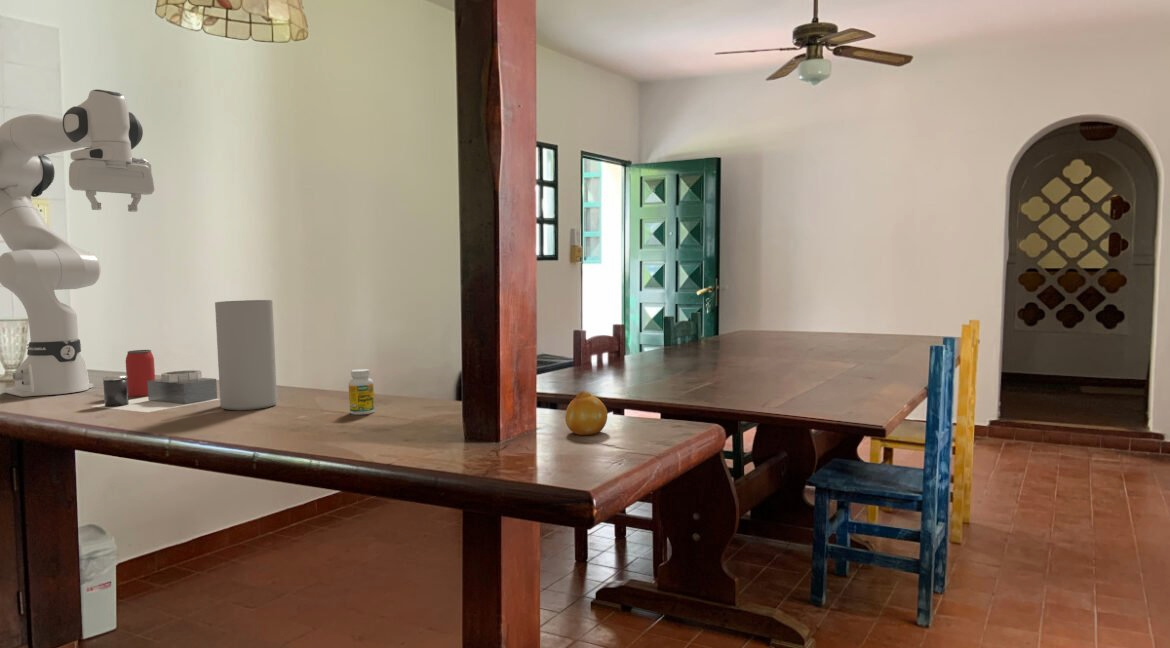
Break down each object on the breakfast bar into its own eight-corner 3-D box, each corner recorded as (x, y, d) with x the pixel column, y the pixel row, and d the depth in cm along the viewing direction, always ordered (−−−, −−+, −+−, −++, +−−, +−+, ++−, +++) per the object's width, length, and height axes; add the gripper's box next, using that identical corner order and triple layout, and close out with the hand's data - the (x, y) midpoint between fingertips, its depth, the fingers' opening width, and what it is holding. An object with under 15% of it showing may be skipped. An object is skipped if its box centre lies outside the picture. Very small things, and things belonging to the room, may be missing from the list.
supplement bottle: (367, 409, 190) (365, 367, 189) (379, 412, 186) (377, 369, 185) (345, 413, 186) (343, 370, 185) (357, 415, 182) (355, 372, 181)
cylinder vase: (223, 404, 202) (218, 301, 200) (278, 400, 205) (273, 299, 204) (217, 412, 190) (211, 303, 188) (275, 408, 194) (270, 301, 192)
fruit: (556, 417, 162) (565, 385, 158) (594, 417, 165) (604, 386, 161) (566, 446, 156) (576, 413, 151) (607, 446, 158) (617, 413, 154)
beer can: (121, 398, 215) (118, 352, 214) (142, 394, 221) (139, 349, 221) (142, 398, 213) (139, 352, 212) (162, 394, 220) (159, 349, 219)
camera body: (148, 400, 207) (146, 373, 207) (181, 395, 215) (179, 369, 215) (184, 404, 200) (183, 376, 200) (217, 398, 208) (215, 371, 208)
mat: (90, 407, 201) (90, 406, 200) (166, 395, 218) (166, 394, 218) (147, 414, 190) (147, 412, 190) (222, 400, 207) (222, 399, 207)
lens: (99, 406, 200) (97, 377, 200) (120, 402, 205) (118, 374, 204) (112, 407, 198) (111, 378, 197) (133, 404, 202) (132, 375, 202)
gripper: (142, 160, 220) (145, 213, 221) (63, 152, 202) (67, 209, 203) (157, 158, 217) (161, 211, 218) (78, 149, 199) (82, 208, 200)
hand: (115, 210), depth 211 cm, fingers open, 8 cm apart
